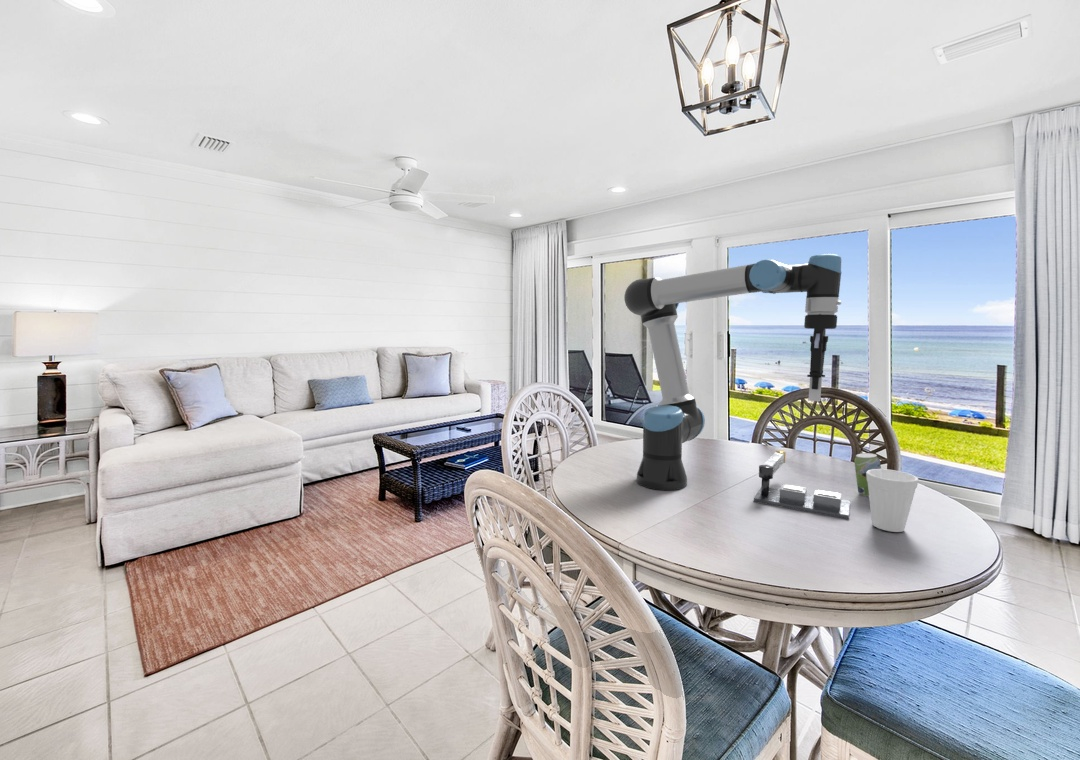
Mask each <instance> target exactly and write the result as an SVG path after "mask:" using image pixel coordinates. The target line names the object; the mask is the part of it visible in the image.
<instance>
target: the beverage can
mask: <svg viewBox="0 0 1080 760" xmlns="http://www.w3.org/2000/svg"><path fill="white" fill-rule="evenodd" d="M853 460H854V470H855V476H856V485H857V486H856V487H857V493H858V494H859V495H862V496H863V497H867V498H869V491H868V482H867V477H866V472H867V471H868V470H871V469H882V466H881V460H880V458H879V457H878V455H877V454H875V453H872V452H864V453H863V452H862V453H861V452H860V453H858V454H856V455H855V458H854V459H853Z"/></svg>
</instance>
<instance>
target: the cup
mask: <svg viewBox="0 0 1080 760" xmlns="http://www.w3.org/2000/svg"><path fill="white" fill-rule="evenodd" d="M866 477H867V482H868V491H869V497H868V499H869V507H870V508H869V509H870V518H871V519H870V520H871V524H872V526H873V527H876V528H877V529H879V530H883V531H886V532H893V533H901V532H902V533H903V532H904V531H905V529H906V526H907V521H908V518H909V514H910V511H911V507H912V503H913V500H914V497H915V493H916V489H917V488H918V484H919V479H920V478H919V477H917V476H916V475H914V474H911V473H909V472H904V471H900V470H894V469H889V468H888V469H887V468H885V469H884V468H881V469H871V470H868V471H867V472H866Z"/></svg>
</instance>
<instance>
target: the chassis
mask: <svg viewBox="0 0 1080 760" xmlns="http://www.w3.org/2000/svg"><path fill="white" fill-rule="evenodd" d="M770 480H771V479H763V478H761V486H760V488H759V490H758V492H757V493H756V495H755V496H754V497H753V503H759V504H764V505H771V506H775V507H779V508H780V507H781V508H784V509H791V510H796V511H801V512H802V511H803V512H808V513H812V514H818V515H824V516H829V517H833V518H834V517H835V518H840V519H846V520H849V518H850V509H851V508H850V504H851V501H850V500H848V499H842V493H839V492H834V491H827V490H821V489H815V490H814V492H813V494H812V493H807V492H808V488H807V487H803V486H799V485H798V486H797V485H791V484H785V483H783V484H782V485H781V486H780V488H775V487H771V486H770V483H771V482H770Z"/></svg>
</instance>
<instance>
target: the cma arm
mask: <svg viewBox="0 0 1080 760" xmlns="http://www.w3.org/2000/svg"><path fill="white" fill-rule="evenodd" d="M786 454H787V453H786V451H784V450H775V452H774V453H773V454H772V455H771V456H770V457H769V458H768V459H767V460H766V461H765V462H764V463H763V464H759V466H758V477H759V478H760V479H762V478H763V479H770V480H772V479H773V478H774V475H775V473H777V471H778V470H779V469H780V468H781V466H782V465H783V464H785V463H786Z"/></svg>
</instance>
